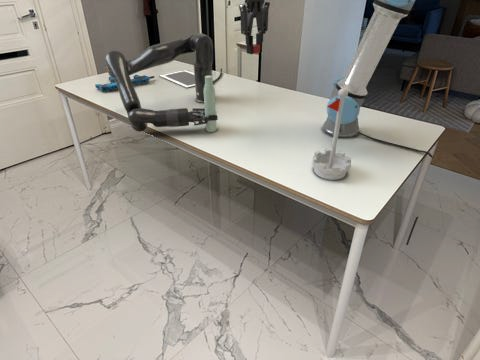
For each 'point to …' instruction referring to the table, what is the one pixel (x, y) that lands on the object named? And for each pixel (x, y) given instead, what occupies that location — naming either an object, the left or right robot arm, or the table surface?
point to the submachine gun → (113, 83)
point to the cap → (256, 48)
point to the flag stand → (333, 149)
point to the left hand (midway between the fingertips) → (216, 115)
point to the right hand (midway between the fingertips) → (254, 52)
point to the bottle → (210, 103)
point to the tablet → (181, 78)
